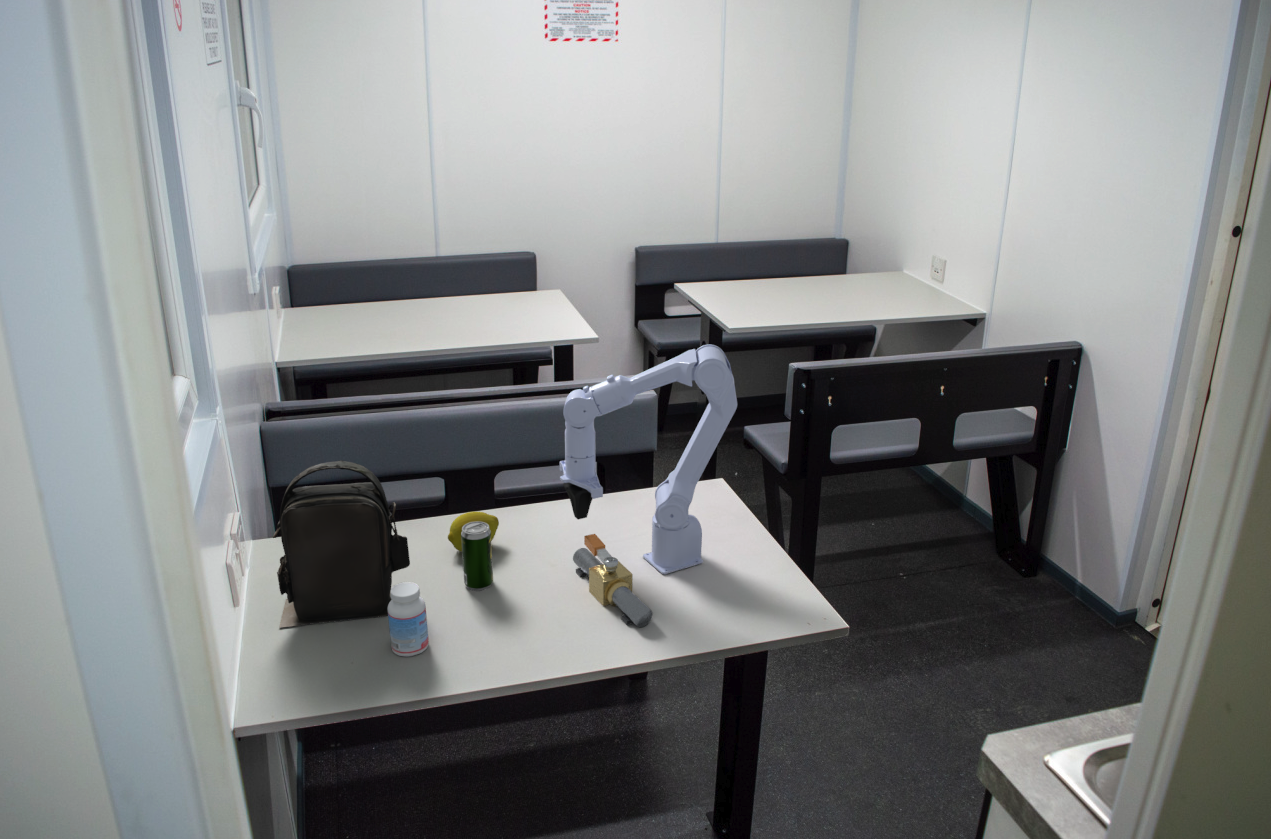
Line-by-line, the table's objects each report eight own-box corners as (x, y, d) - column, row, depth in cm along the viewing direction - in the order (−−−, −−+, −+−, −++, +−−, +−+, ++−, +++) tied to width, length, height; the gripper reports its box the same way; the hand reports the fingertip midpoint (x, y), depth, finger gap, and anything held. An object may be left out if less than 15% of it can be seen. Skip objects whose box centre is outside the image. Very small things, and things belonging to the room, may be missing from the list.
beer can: (471, 595, 164) (467, 537, 160) (459, 582, 169) (456, 525, 164) (498, 586, 167) (495, 529, 163) (486, 574, 171) (483, 518, 167)
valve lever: (620, 571, 163) (620, 560, 162) (606, 574, 162) (607, 563, 161) (596, 543, 172) (595, 533, 171) (583, 546, 171) (583, 536, 170)
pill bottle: (431, 653, 148) (426, 595, 144) (393, 661, 146) (387, 602, 142) (426, 633, 153) (421, 576, 149) (389, 640, 151) (383, 582, 147)
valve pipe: (594, 563, 176) (594, 539, 175) (658, 624, 157) (658, 598, 155) (567, 570, 174) (567, 546, 172) (628, 634, 154) (628, 607, 152)
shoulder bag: (414, 586, 167) (401, 448, 157) (414, 613, 159) (401, 470, 149) (286, 600, 162) (264, 459, 152) (279, 629, 154) (256, 481, 144)
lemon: (453, 564, 175) (451, 527, 172) (442, 546, 181) (440, 511, 178) (506, 552, 179) (505, 516, 176) (494, 535, 186) (492, 500, 183)
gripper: (544, 443, 173) (546, 506, 178) (578, 471, 161) (579, 537, 166) (577, 437, 176) (578, 499, 181) (612, 463, 164) (612, 529, 169)
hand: (580, 517), depth 174 cm, fingers closed
